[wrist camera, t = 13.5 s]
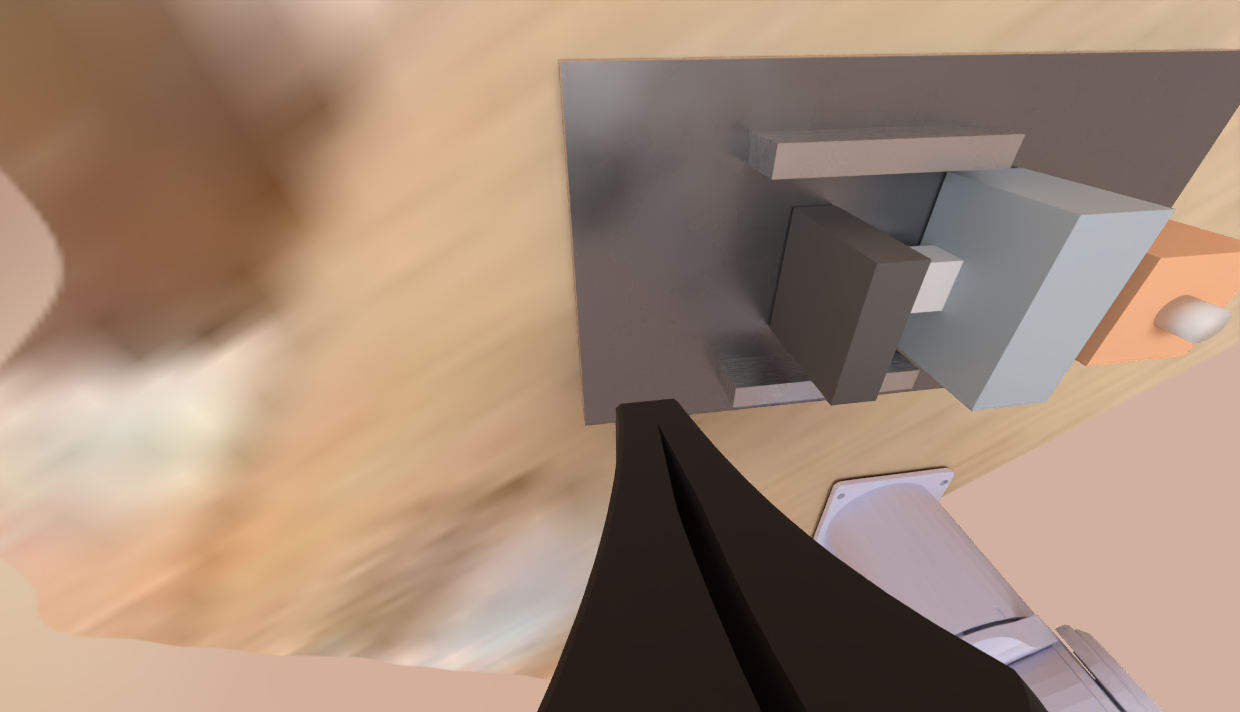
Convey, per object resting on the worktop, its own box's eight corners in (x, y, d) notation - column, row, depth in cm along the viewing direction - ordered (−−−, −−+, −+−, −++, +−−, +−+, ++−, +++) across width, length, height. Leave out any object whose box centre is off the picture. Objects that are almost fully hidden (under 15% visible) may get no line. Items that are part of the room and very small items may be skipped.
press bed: (1034, 358, 25) (1097, 400, 22) (582, 404, 22) (589, 458, 19) (1223, 49, 17) (1360, 51, 14) (558, 59, 14) (563, 65, 12)
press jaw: (947, 331, 21) (1046, 402, 17) (765, 347, 20) (823, 427, 16) (1022, 167, 17) (1175, 209, 13) (799, 178, 16) (889, 226, 12)
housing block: (1056, 293, 21) (1217, 372, 16) (975, 299, 20) (1115, 383, 15) (1109, 202, 18) (1316, 262, 14) (1019, 208, 18) (1199, 272, 13)
